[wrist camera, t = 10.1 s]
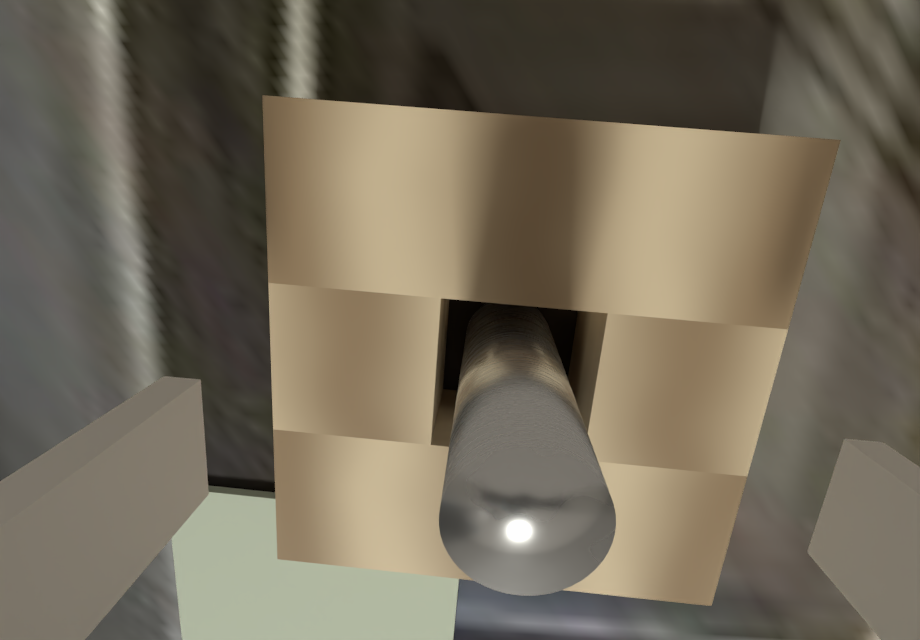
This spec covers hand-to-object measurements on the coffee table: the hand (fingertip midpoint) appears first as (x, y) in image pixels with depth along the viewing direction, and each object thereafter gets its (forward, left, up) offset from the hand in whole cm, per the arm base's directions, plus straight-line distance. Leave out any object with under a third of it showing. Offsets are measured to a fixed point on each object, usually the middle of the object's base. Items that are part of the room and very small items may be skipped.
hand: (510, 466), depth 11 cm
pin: (0, 0, -8) cm, 8 cm away
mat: (-7, -12, -8) cm, 16 cm away
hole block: (0, 0, -8) cm, 8 cm away
